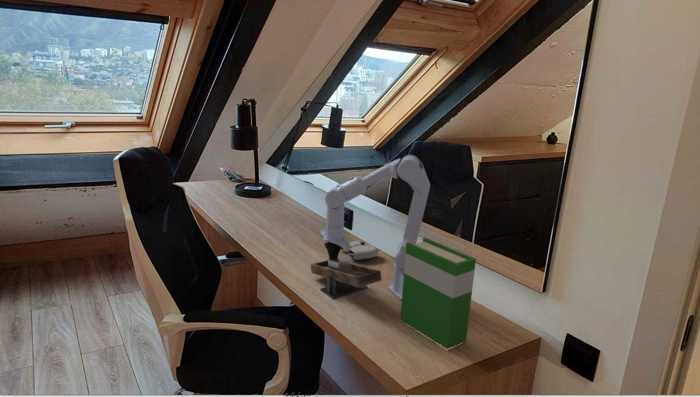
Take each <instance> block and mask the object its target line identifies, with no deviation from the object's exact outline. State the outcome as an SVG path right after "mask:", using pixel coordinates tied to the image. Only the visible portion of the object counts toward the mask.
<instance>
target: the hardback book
mask: <svg viewBox="0 0 700 397" xmlns="http://www.w3.org/2000/svg"><path fill="white" fill-rule="evenodd" d="M476 262H477V260H476V258H475V257H472V256H470V255H467V254H465V253H462V252H460V251H459V250H456V249H453V248H451V247H449V246H445V245H443V244H441V243H439V242H436V241H435V240H431V239H429V238H427V237H424V238H422V241H420V242H416V244H412V243H410V242H407V243H406V254H405V267H404V279H403V292H402V300H401V309H400V320H402V321H403V322H404V323H406V324H408V325H410V326H411V327H413V328H414V329H416V330H418V331H420V332H421V333H423V334H424V335H426V336H427V337H429V338H431V339H432V340H434V341H435V342H437V343H439V344H441V345H442V346H443V347H445V348H447V349H448V348H450V347H453V346H455V345H458V344H460V343H462V342H464V341H466V342H467V334H468V327H469V319H470V312H471V303H472V293H473V288H474V287H473V286H474V278H475V270H476V269H475V268H476ZM404 323H403V324H404ZM406 324H405V325H406Z"/></svg>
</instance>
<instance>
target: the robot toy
mask: <svg viewBox="0 0 700 397" xmlns="http://www.w3.org/2000/svg"><path fill="white" fill-rule="evenodd" d="M348 243H350V249H349V250H348V256H349V257H350V258H352V259H354V260H355V261H361V260H369V259H372V258H375V257H376V256H377V255H378V251H380V252H382V251H383V250H382V249H378V248H377V247H375V246H373V245H370V244H367V245H365V242H364V241H357V240H355V241H350V242H348ZM341 250H342V251H344V250H343V248H341Z"/></svg>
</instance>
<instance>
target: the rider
mask: <svg viewBox="0 0 700 397" xmlns="http://www.w3.org/2000/svg"><path fill="white" fill-rule="evenodd" d="M327 260H328V267H329V269H333V270H336V271H340V272H344V273H349V272H352V265H351V264H352V259H350V258H345V257H342V256H338V258H335V259H331V260H329V259H327Z"/></svg>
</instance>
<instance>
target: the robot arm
mask: <svg viewBox="0 0 700 397" xmlns="http://www.w3.org/2000/svg"><path fill="white" fill-rule="evenodd" d="M424 166H425V165H424V164H423V163H422V161H421V160H420V159H419V157H417V156H416V155H414V154H407V155H404V156H403V157H402V158H401V157H400V158H397V159H394V160H393V161H390V162H388V163H386V164H385V165H383V166H381V167H379V168H378V169H376V170H374V171H372V172H370V173H369V174H367V175H365V176H363V177H362V176H357V175H356V176H351V177H349V178H348V180H347V181H345V182H343V183H341V184H340V183H338V184H337V185H336V186H335V187H333V188H331V189H330V190H329V191H328V192H327V193H326V195H325V197H324V198H325V199H324V200H325V204H326V207H327V208H326V217H325V218H326V220H325V222H326V223H325V229H323V230H320V231H319V237H320V238H322V241H323V242H324V247H325V248H326V250H327V254H328V260H331V259H335V258H339V255H340V251H341V250H342V249H341V248H343V250H342V251H347V250H348V251H349V249H350V243H349V242H348V241H347V240H346V239H345V236H344V227H345V226H344V225H345V202H349V201H352V200H353V199H355V198H357V197H359V196H361V195H363V194H365V193H366V192H367V189H368V187H371V186H372V185H374V184H376V183H379V182H381V181H382V180H385V179H387V178H393V179H398V178H400V179H401V180H403V181H404V182H405V183H408V185H409V186H410V187H411V189H412V190H413V195H412V199H411V204H410V208H409V211H408V215H407V220H406V225H405V228H404V233H403V237H402V242H401V243H399V244H398V246H397V251H396V254H395V256H394V263H393V275H392V284H390V285H387V286H386V287H387V288H388V289H389V291H391V292H392V293H393V294H394V295H395V296H396V297H397V298H398V299H399V300H401V299H402V292H403V279H404V267H405V254H406V243H407V242H410V243H412V244H416V243H418V238H419V234H420V229H421V225H422V221H423V218H424V213H425V210H426V205H427V201H428V197H429V193H430V188H431V183H430V180H429V178H428V175H427V172H426V170H425V167H424Z"/></svg>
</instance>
